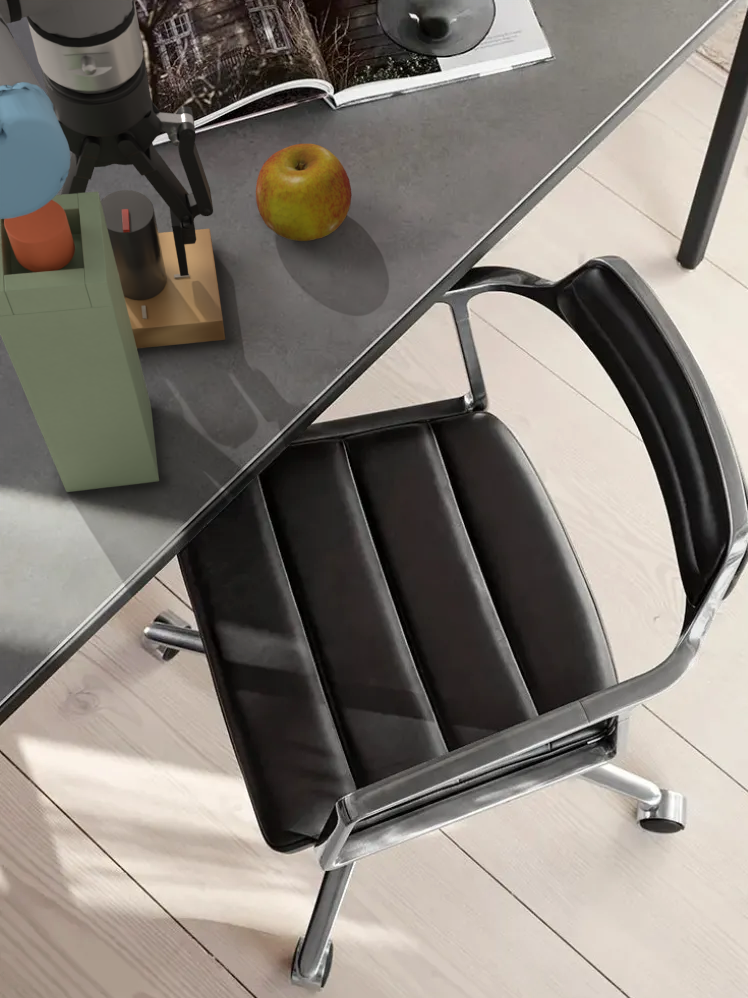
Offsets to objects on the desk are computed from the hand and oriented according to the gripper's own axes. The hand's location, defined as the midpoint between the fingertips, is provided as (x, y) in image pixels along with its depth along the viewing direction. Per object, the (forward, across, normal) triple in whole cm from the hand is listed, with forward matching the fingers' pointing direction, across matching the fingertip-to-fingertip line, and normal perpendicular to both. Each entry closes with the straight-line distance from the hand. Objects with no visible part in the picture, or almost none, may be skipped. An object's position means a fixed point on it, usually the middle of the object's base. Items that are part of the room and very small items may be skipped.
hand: (138, 267), depth 104 cm
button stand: (+5, -4, -16) cm, 17 cm away
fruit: (+5, +16, +8) cm, 19 cm away
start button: (-21, -4, -16) cm, 27 cm away
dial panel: (+5, 0, 0) cm, 5 cm away
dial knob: (+2, 0, 0) cm, 2 cm away
